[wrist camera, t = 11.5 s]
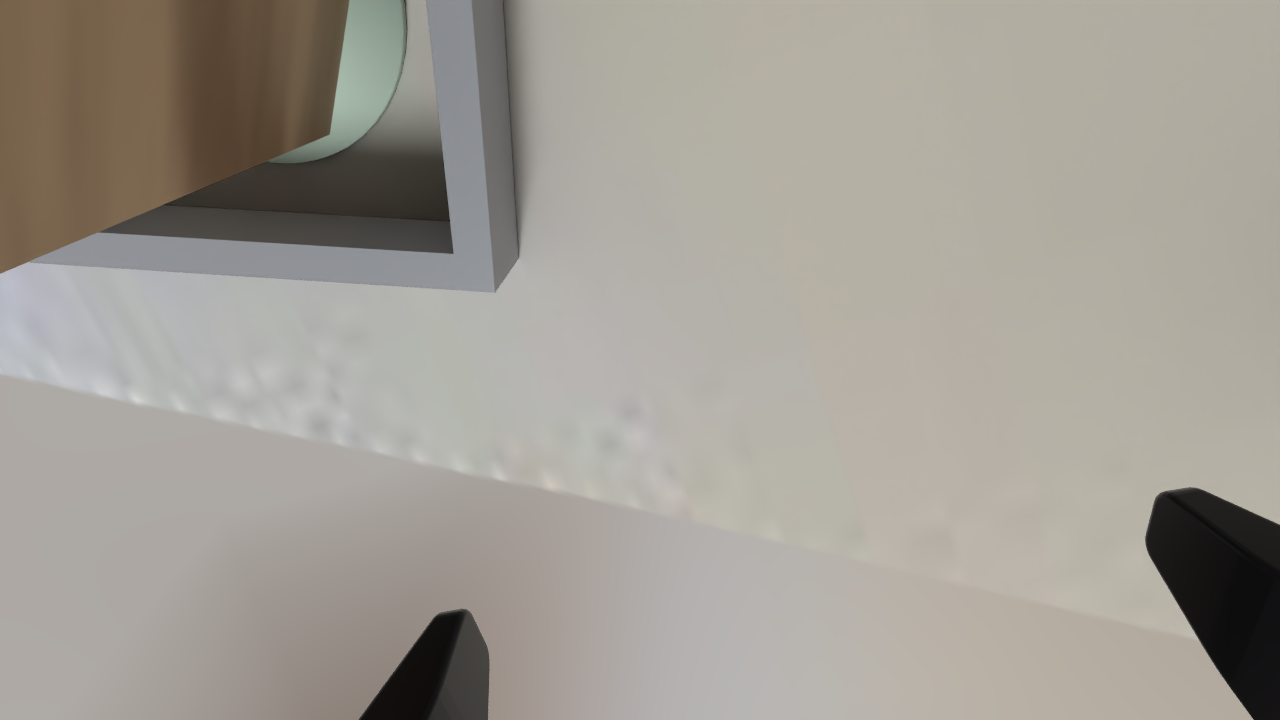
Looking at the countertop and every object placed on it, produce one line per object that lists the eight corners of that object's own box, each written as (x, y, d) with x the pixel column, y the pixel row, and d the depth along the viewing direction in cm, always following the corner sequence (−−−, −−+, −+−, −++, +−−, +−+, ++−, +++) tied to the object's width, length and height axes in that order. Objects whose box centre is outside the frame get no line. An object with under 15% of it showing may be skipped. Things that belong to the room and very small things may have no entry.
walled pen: (481, -348, 14) (439, -407, 12) (518, 258, 21) (495, 292, 18) (-110, -348, 15) (-248, -400, 13) (100, 232, 21) (30, 262, 19)
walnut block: (359, -68, 17) (-410, -153, 5) (329, 134, 19) (-242, 375, 8) (148, -158, 16) (-1194, -461, 5) (145, 61, 19) (-752, 204, 7)
